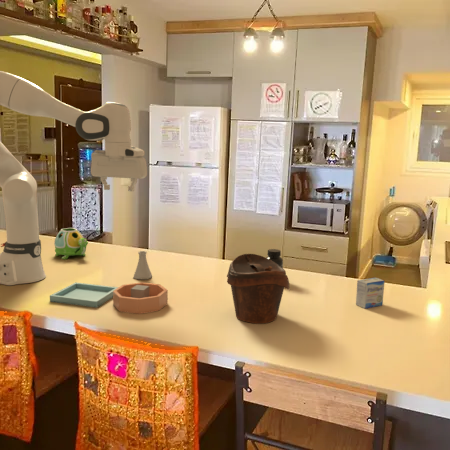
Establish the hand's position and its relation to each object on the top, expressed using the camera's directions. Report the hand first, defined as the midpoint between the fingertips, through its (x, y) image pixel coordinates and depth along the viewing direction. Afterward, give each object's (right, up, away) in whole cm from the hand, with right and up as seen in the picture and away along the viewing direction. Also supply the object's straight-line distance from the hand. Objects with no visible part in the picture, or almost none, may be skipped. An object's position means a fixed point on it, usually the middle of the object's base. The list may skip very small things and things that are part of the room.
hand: (119, 190), depth 174 cm
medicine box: (+85, -39, -10) cm, 94 cm away
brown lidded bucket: (+47, -40, -22) cm, 66 cm away
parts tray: (-9, -36, -8) cm, 38 cm away
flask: (+6, -32, +15) cm, 36 cm away
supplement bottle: (+55, -34, +13) cm, 66 cm away
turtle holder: (-29, -26, +43) cm, 58 cm away
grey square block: (+10, -37, -14) cm, 41 cm away
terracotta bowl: (+10, -38, -14) cm, 41 cm away
